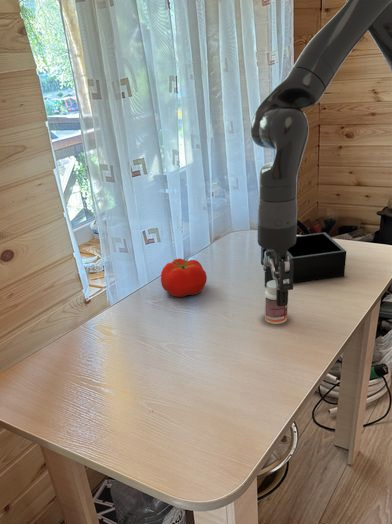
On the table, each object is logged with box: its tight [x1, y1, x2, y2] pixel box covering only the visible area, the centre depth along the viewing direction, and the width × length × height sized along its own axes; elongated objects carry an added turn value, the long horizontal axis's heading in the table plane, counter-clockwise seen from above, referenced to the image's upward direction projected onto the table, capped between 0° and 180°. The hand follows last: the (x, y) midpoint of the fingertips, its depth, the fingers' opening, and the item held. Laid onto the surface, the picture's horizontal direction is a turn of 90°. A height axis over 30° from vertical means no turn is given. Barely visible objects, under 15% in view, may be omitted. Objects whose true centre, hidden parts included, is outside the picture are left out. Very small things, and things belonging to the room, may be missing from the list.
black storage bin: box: [287, 231, 347, 285], centre depth 128 cm, size 14×14×7 cm
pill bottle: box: [264, 280, 289, 325], centre depth 108 cm, size 5×5×8 cm
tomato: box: [160, 258, 208, 298], centre depth 122 cm, size 11×11×8 cm
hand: (275, 296), depth 107 cm, fingers open, 8 cm apart
